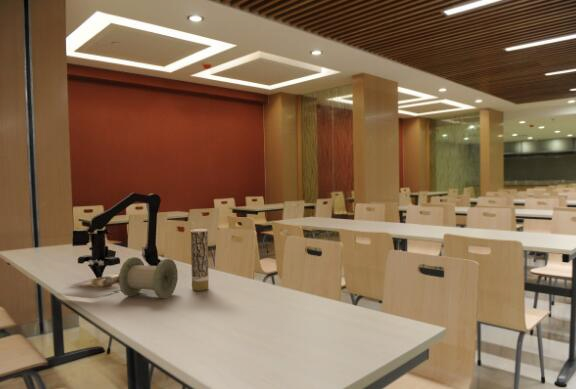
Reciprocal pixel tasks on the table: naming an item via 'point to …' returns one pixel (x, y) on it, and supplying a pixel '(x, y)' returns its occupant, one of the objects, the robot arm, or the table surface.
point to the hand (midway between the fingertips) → (99, 279)
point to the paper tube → (199, 259)
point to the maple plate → (101, 280)
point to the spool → (148, 277)
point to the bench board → (107, 282)
